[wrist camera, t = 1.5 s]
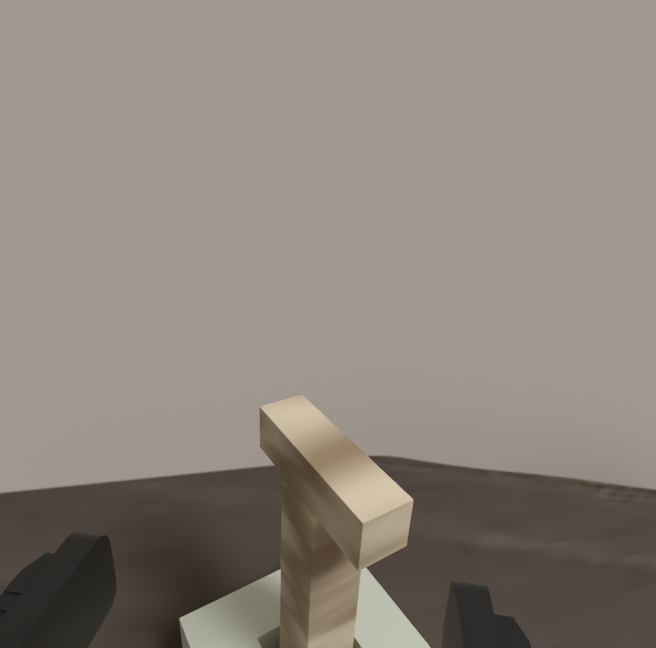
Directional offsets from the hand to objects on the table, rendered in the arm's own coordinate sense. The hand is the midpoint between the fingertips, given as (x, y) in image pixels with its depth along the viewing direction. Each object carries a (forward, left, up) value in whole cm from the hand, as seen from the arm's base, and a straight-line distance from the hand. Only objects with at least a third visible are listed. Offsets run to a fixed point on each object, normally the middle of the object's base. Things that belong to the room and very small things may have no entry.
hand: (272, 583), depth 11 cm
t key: (-8, +7, -23) cm, 25 cm away
